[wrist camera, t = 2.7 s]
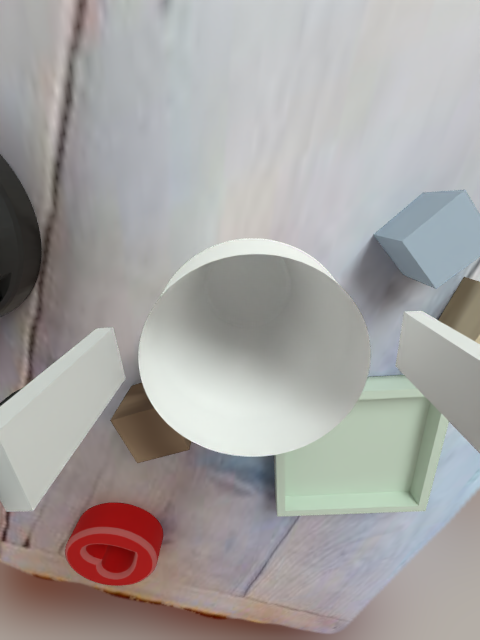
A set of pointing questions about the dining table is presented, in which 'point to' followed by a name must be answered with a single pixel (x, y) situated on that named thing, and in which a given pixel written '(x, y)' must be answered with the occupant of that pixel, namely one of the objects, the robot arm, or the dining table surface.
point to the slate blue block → (433, 236)
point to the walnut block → (145, 428)
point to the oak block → (464, 310)
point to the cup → (254, 349)
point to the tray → (367, 456)
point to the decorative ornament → (115, 544)
